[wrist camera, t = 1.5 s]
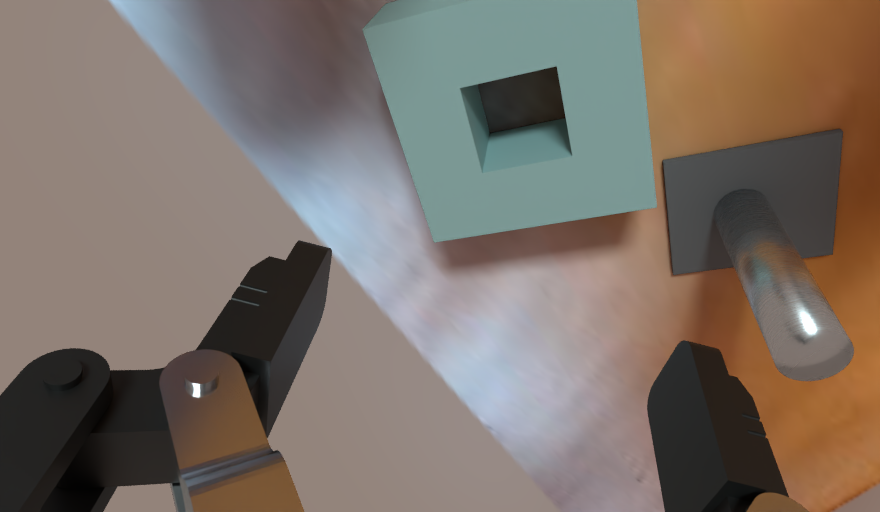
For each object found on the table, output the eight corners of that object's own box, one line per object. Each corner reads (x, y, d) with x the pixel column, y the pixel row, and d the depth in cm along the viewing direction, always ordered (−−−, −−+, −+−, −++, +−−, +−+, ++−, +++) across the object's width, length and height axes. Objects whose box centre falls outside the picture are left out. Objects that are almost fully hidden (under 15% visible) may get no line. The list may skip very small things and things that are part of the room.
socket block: (620, -62, 29) (632, -43, 25) (644, 163, 35) (656, 207, 31) (385, 3, 32) (362, 29, 28) (446, 198, 38) (434, 242, 34)
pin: (769, 184, 34) (857, 326, 25) (768, 228, 36) (850, 377, 26) (712, 193, 35) (775, 334, 25) (714, 236, 37) (774, 383, 27)
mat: (840, 128, 32) (842, 131, 32) (830, 250, 37) (832, 254, 36) (662, 160, 35) (663, 163, 34) (672, 271, 39) (673, 274, 39)
